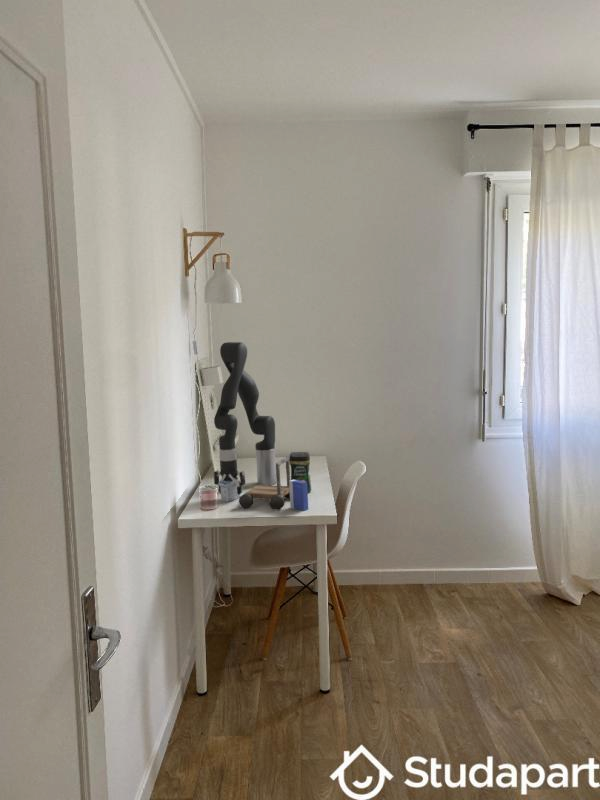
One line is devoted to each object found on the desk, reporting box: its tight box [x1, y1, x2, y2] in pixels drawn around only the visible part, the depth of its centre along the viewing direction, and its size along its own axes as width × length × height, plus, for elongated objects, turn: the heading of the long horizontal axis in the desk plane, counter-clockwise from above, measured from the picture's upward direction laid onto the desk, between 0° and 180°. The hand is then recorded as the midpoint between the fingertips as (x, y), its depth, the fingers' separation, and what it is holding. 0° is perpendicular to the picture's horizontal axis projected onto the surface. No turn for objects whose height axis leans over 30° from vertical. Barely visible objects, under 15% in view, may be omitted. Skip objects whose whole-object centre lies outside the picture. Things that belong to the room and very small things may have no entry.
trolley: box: [238, 456, 291, 511], centre depth 281 cm, size 18×20×19 cm
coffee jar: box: [289, 451, 312, 494], centre depth 297 cm, size 10×8×19 cm
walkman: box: [289, 479, 309, 511], centre depth 271 cm, size 8×3×12 cm, turn 47°
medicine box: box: [219, 481, 241, 503], centre depth 292 cm, size 8×4×9 cm, turn 141°
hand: (230, 494), depth 292 cm, fingers open, 8 cm apart
